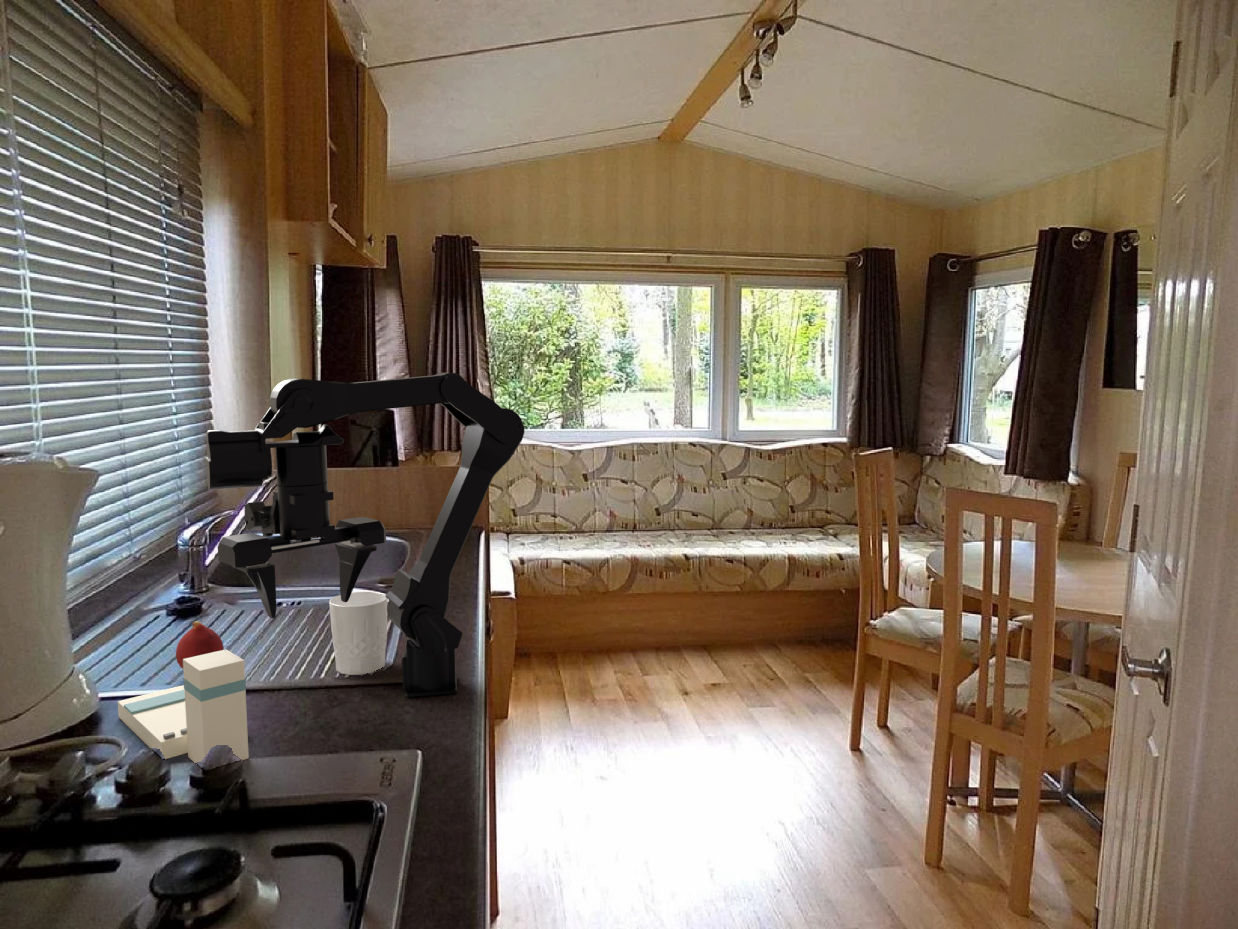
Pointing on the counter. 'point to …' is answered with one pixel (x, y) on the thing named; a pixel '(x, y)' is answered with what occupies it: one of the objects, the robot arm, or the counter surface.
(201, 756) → the cream box
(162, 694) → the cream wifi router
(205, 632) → the onion
